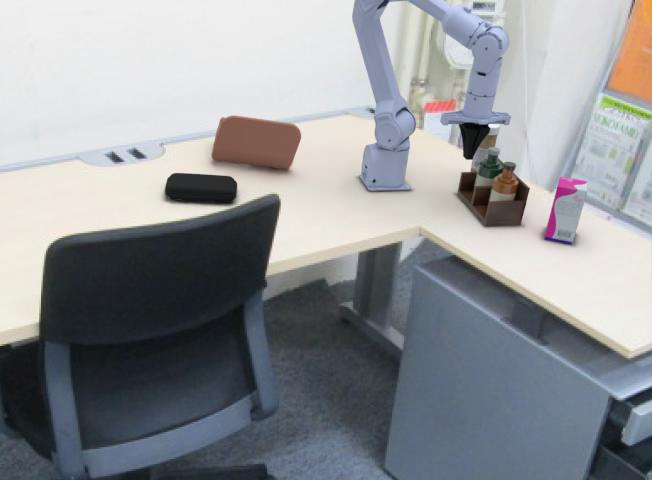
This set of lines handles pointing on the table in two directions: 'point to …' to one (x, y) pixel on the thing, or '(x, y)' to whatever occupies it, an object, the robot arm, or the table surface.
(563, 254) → the table surface
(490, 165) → the dark green bottle
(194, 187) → the carrying case
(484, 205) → the rack
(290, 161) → the brown block
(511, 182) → the amber bottle
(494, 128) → the sprinkles bottle
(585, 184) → the supplement box
